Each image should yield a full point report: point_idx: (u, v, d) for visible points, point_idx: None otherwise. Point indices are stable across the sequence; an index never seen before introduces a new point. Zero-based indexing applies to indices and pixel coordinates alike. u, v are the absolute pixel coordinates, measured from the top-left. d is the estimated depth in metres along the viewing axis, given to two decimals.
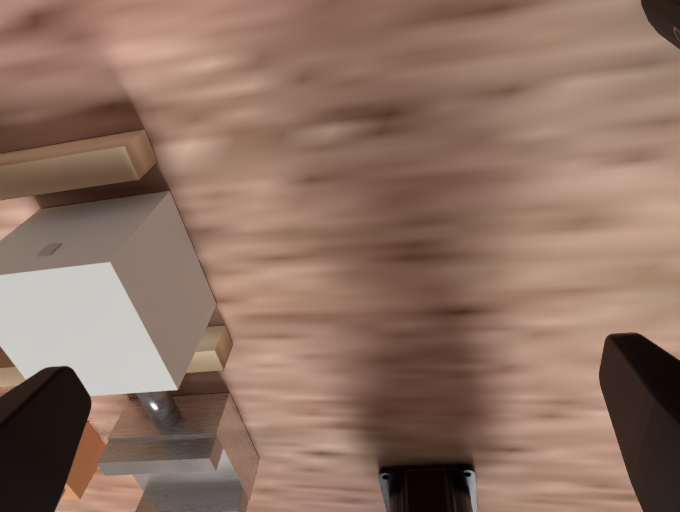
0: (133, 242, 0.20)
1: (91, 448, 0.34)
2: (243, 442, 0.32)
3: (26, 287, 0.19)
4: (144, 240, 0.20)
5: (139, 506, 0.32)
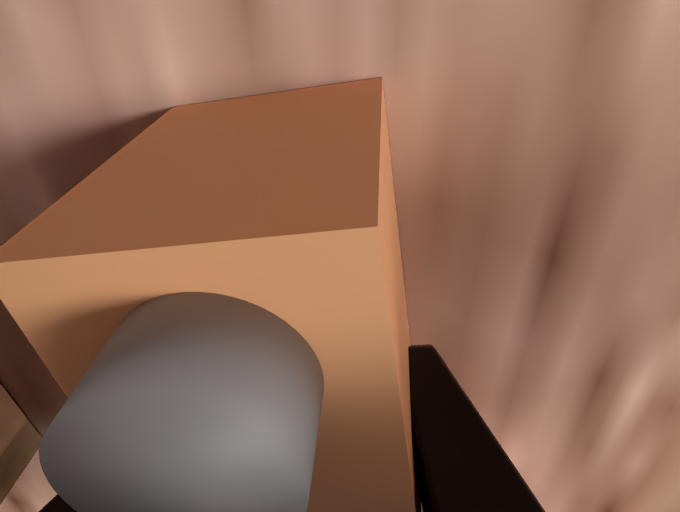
0: None
1: (259, 118, 0.06)
2: None
3: None
4: None
5: None
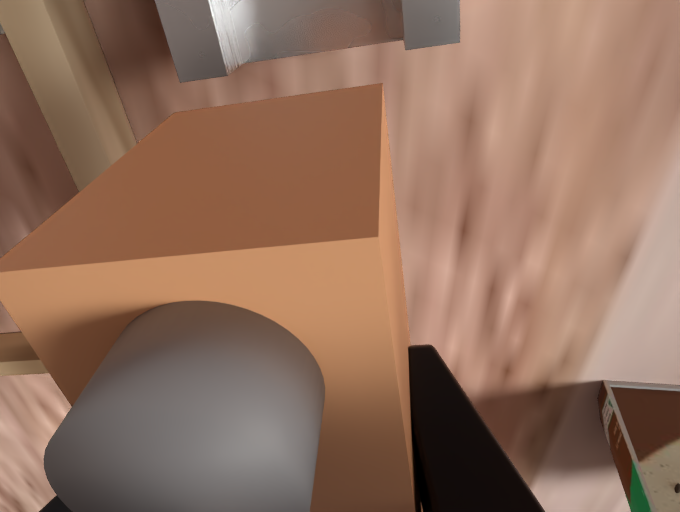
0: None
1: (260, 125, 0.06)
2: None
3: None
4: None
5: (404, 41, 0.11)
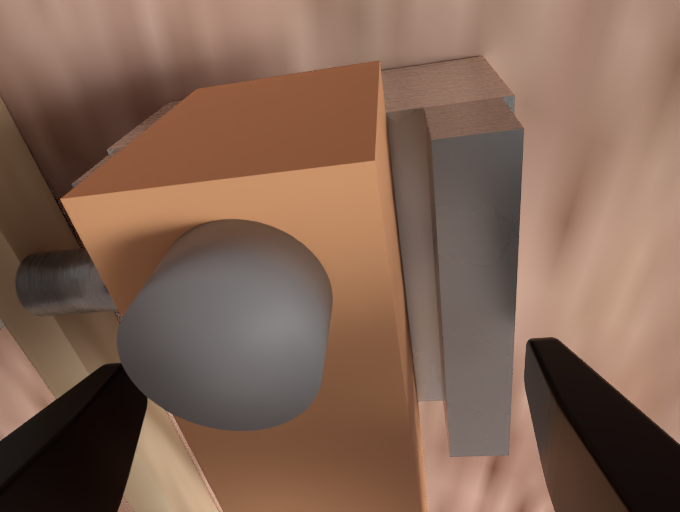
0: None
1: (274, 94, 0.07)
2: None
3: None
4: None
5: (447, 434, 0.11)
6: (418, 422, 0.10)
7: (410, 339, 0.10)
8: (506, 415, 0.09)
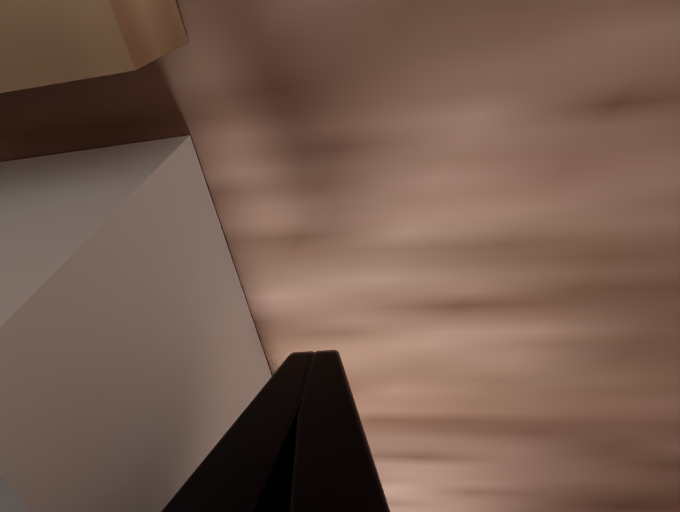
0: (66, 287, 0.05)
1: None
2: None
3: None
4: (115, 273, 0.06)
5: None
6: None
7: None
8: None
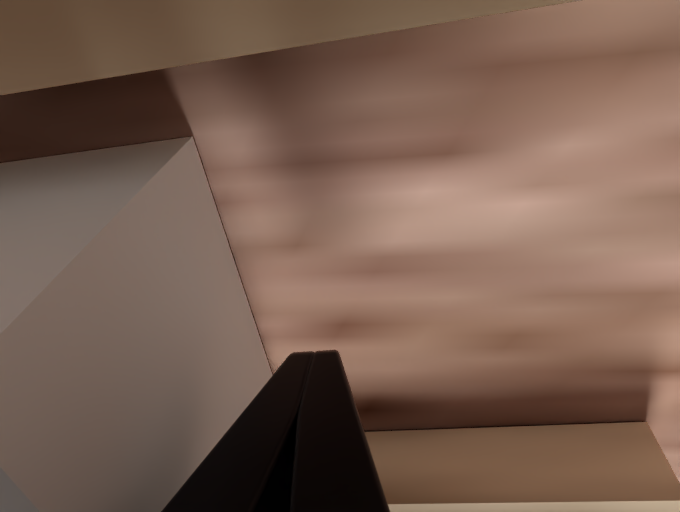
0: (71, 288, 0.05)
1: None
2: None
3: None
4: (117, 274, 0.06)
5: None
6: None
7: None
8: None
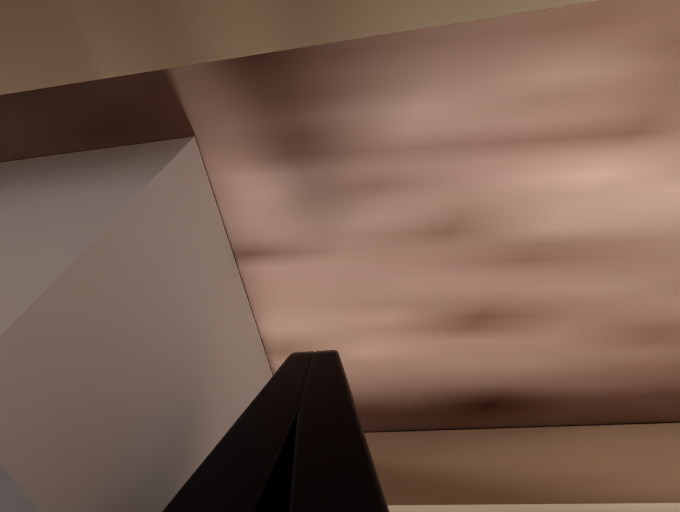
0: (74, 288, 0.05)
1: None
2: None
3: None
4: (120, 274, 0.06)
5: None
6: None
7: None
8: None
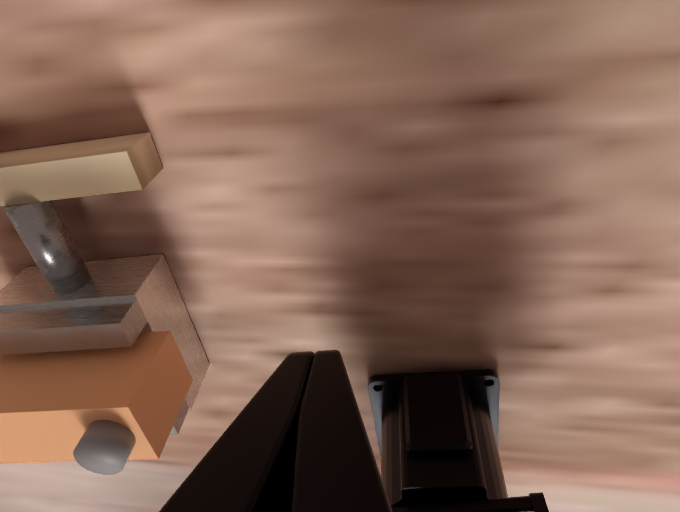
0: None
1: (172, 377, 0.20)
2: (184, 330, 0.23)
3: None
4: None
5: None
6: None
7: None
8: None
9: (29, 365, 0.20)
